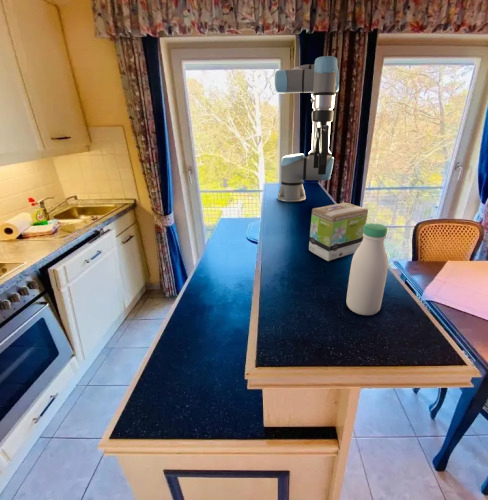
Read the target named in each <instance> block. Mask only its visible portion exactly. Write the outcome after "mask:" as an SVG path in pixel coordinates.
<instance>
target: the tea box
mask: <svg viewBox="0 0 488 500" xmlns="http://www.w3.org/2000/svg"><path fill="white" fill-rule="evenodd" d="M368 214H369V209H368V208H365V207H362V206H359V205H355V204H352V203H350V202H346V201H345V202H341V203H335V204H330V205H325V206H321V207H314V208H312V209H311V218H310V230H309V241H308V242H309V243H308V251H310V252H311V253H313V254H314V255H316V256H318V257H319V258H321V259H323V260H325V261H327V262H331V261H333V260H336V259H338V258H343V257H346V256H348V255H352V254H355V252H356V250H357V249H358V247H359V246H360V244H361V242H362V240H363V237H364V236H363V228H364V225H366V224H367V219H368Z"/></svg>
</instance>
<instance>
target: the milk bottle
mask: <svg viewBox="0 0 488 500" xmlns="http://www.w3.org/2000/svg"><path fill="white" fill-rule="evenodd" d="M387 235H388V227H387V226H386V225H384V224H381V223H375V222H369V223H366V225H364V228H363V236H364V237H363V240H362V242H361V244H360V246H359V247H358V249H357V250H356V252H355V253H353V255H352V259H351V264H350V268H349V276H348V283H347V293H346V299H345V300H346V301H345V302H346V306H347V307H348V309H349V310H350V311H352V312H354V313H355V314H357V315H362V316H374V315H375V314H377V313H379V311H380V310H381V307H382V303H383V297H384V291H385V287H386V283H387V276H388V270H389V258H388V253H387V251H386V246H385V239H386V238H387Z"/></svg>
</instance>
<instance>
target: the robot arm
mask: <svg viewBox="0 0 488 500" xmlns="http://www.w3.org/2000/svg"><path fill="white" fill-rule="evenodd" d="M339 72H340V71H339V66H338V58H337V57H336V56H333V55H325V56H324V55H323V56H319V57H317V58H315V60H314V63H313V64H302V65H299V66H295V67H292V68H290V69H281V70H276V71H275V73H274V90H275V92H276V93H277V94H300V93H303V94H305V93H306V94H307V93H311V94H310V95H311V99H310V102H311V103H312V109H313V110H312V111H311V122H312V133H311V150H310V151H309V152H308V154H307V155H308V156H305V154H304V153H293V154H288V155H284V156H283V157H282V158H281V160H280V187H279V190H278V193H277V200H278V202H283V203H289V204H291V203H292V204H293V203H294V204H295V203H301V202H305V201H306V199H307V196H306V191H305V189H304V181H320V182H321V181H329V180H331V177H332V176H331V175H332V171H333V168H334V167H333V166H334V162H335V157H334V156H332V152H331V151H330V148H329V147H330V135H331V122H332V123H333V121H334V110H333V109H334V108H335V104H336V103H335V102H336V93H338V92H339V90H340V73H339Z"/></svg>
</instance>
